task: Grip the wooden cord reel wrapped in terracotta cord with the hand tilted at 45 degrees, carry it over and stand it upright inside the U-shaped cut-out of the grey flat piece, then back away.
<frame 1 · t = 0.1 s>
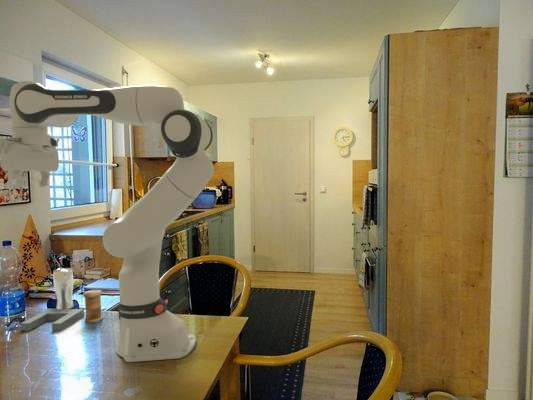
hand: (33, 187, 115), 48 cm above the table, tool pointing down, fingers open, 8 cm apart
grey flat piece: (54, 322, 137), on the table
cord reel: (94, 319, 139), on the table
beer glass: (65, 308, 154), on the table
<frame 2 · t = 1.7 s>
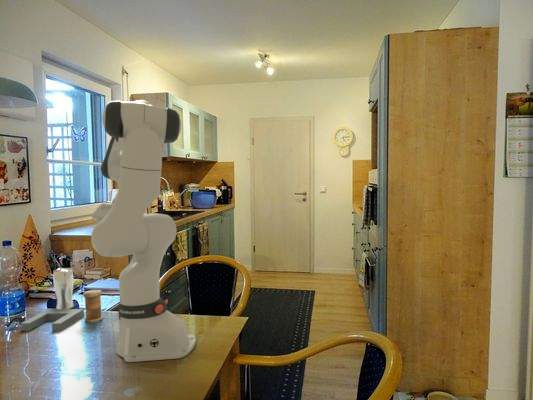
hand: (106, 232, 144), 30 cm above the table, tool tilted 45°, fingers open, 8 cm apart
nothing on the table moved.
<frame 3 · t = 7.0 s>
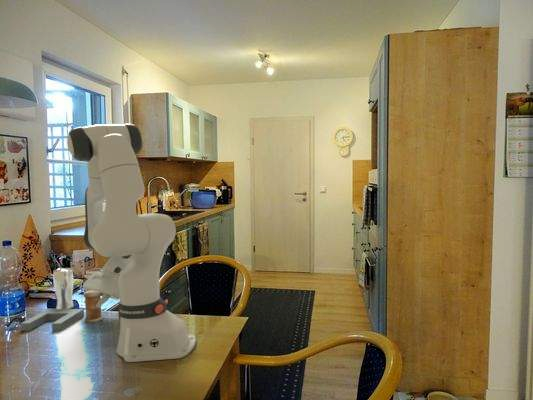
hand: (91, 305, 138), 5 cm above the table, tool tilted 45°, fingers closed on cord reel, 5 cm apart
cord reel: (94, 319, 139), on the table, touching gripper
everything else where it was.
when the fingers open (7 cm above the table, at t = 13.1 s): cord reel drops 1 cm, on the table.
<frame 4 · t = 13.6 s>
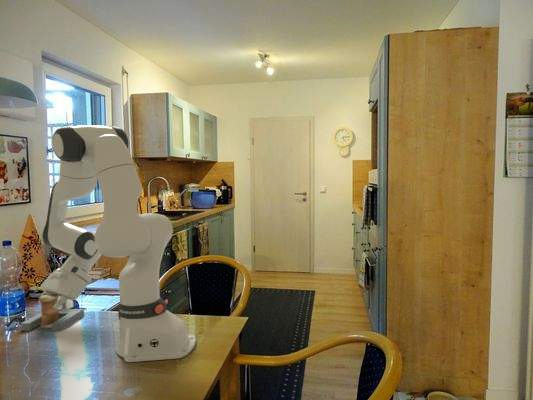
hand: (47, 306, 134), 7 cm above the table, tool tilted 45°, fingers open, 8 cm apart
cord reel: (50, 325, 135), on the table
everything else where it was.
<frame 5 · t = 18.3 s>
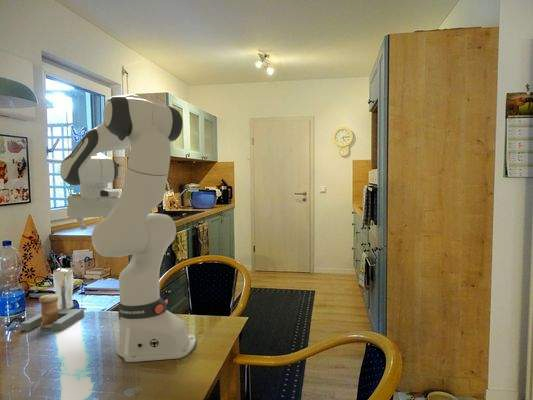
hand: (95, 229, 147), 31 cm above the table, tool pointing down, fingers open, 8 cm apart
nothing on the table moved.
at the end: cord reel 0.2 cm from the target spot on the grey flat piece, point 0.0 cm above the grey flat piece's base; cord reel tilted 0°; the gripper is holding nothing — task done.
